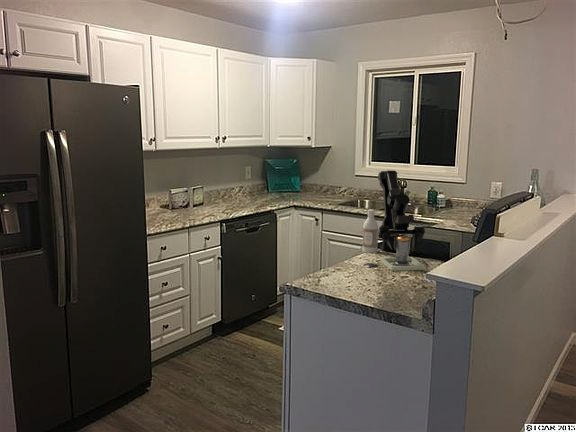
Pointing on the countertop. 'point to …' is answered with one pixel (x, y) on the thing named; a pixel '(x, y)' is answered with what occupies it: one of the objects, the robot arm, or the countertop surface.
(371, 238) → the bath foam
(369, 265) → the stud
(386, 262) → the bin
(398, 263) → the grey and gold cylinder
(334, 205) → the countertop surface
